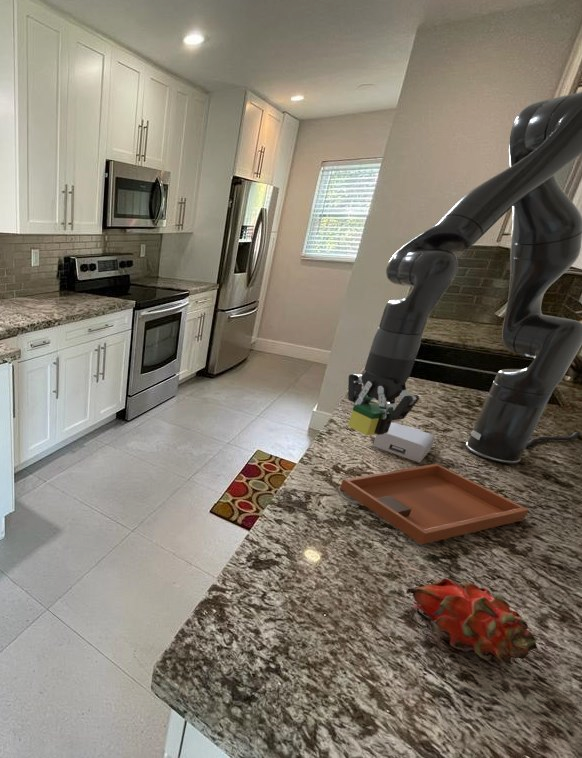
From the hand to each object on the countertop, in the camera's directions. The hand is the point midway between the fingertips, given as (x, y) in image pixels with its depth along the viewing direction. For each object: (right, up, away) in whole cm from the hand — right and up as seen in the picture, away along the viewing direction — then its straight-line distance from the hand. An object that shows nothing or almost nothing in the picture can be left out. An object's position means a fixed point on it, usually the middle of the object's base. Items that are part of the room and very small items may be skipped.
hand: (368, 427), depth 88 cm
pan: (+4, -14, -10) cm, 17 cm away
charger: (+17, -6, +12) cm, 21 cm away
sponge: (0, 0, 0) cm, 0 cm away
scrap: (-5, -14, -13) cm, 20 cm away
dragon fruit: (-14, -23, -36) cm, 45 cm away
